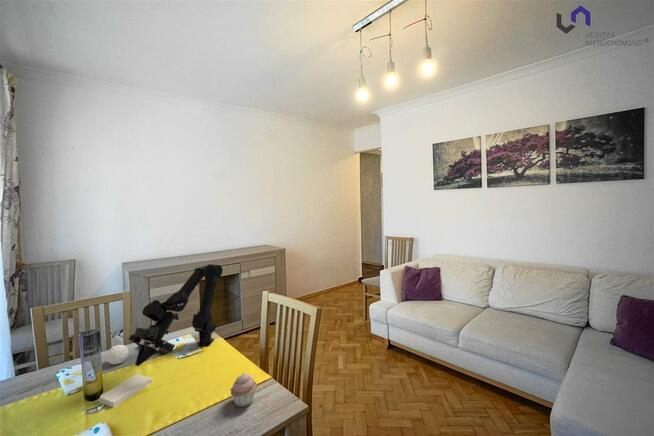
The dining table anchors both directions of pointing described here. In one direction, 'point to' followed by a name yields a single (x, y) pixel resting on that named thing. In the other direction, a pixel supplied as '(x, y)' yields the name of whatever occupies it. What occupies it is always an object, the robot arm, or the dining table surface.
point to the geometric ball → (117, 354)
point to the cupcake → (243, 390)
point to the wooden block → (124, 390)
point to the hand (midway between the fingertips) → (136, 365)
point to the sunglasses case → (163, 350)
